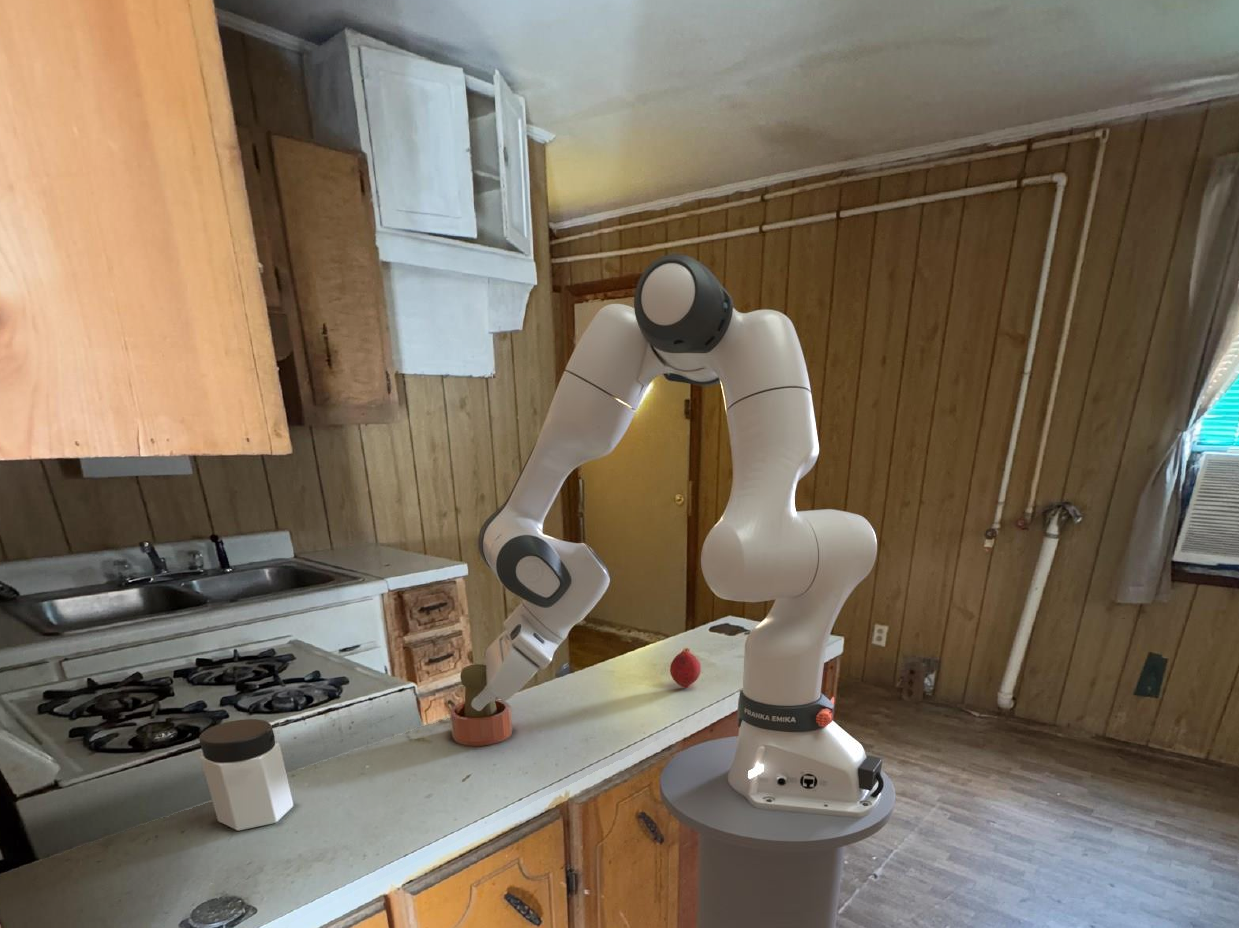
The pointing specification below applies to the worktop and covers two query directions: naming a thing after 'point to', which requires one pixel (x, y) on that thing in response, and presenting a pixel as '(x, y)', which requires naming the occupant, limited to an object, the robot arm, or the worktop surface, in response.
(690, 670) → the pomegranate
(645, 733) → the worktop surface
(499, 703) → the bowl
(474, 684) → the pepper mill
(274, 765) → the jar
